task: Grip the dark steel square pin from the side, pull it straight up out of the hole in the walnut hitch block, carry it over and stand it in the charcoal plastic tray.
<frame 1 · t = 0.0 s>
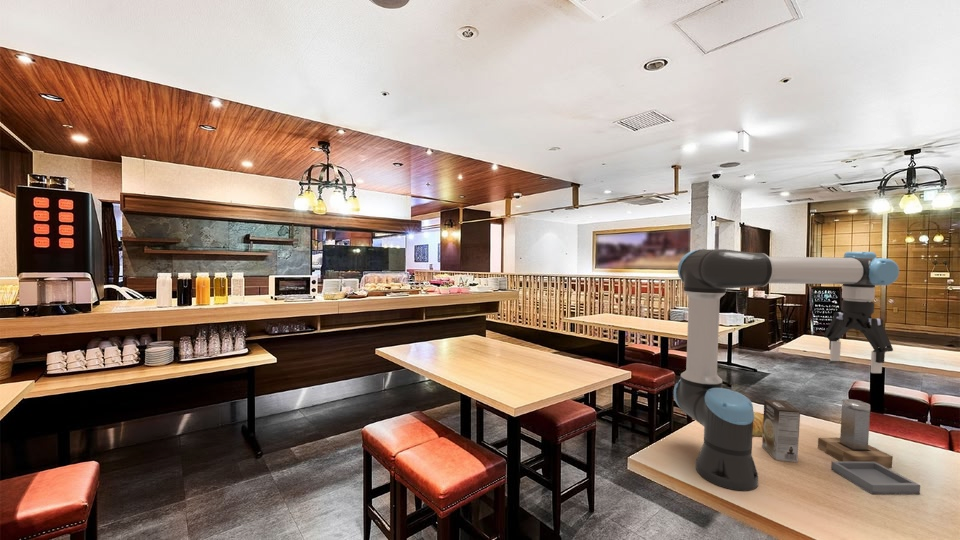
hand: (854, 366, 127), 28 cm above the table, tool pointing down, fingers open, 13 cm apart
croissant: (753, 431, 143), on the table
tray: (873, 481, 111), on the table
hitch block: (853, 457, 125), on the table
pin: (854, 430, 124), in the hitch block
coffee box: (779, 454, 126), on the table
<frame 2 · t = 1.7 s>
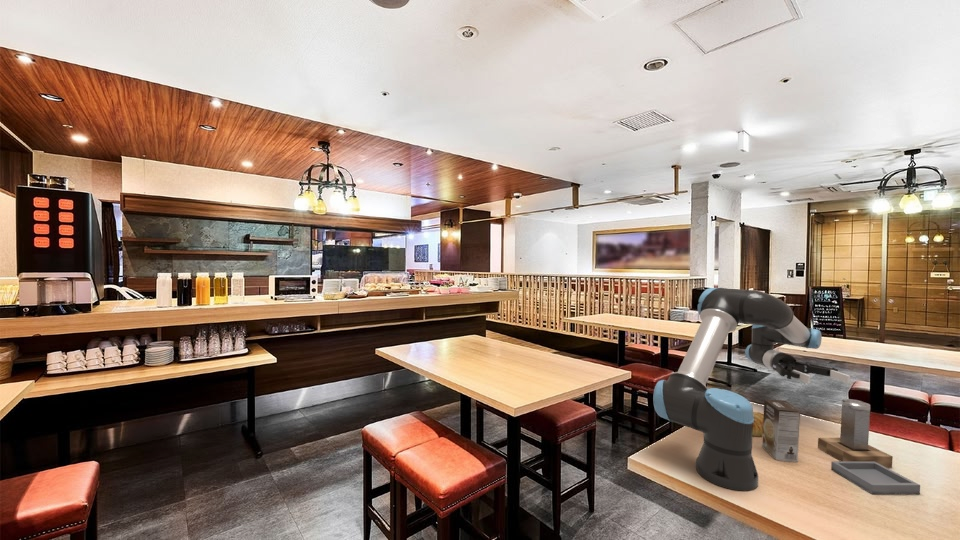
hand: (829, 379, 133), 22 cm above the table, tool horizontal, fingers open, 13 cm apart
nothing on the table moved.
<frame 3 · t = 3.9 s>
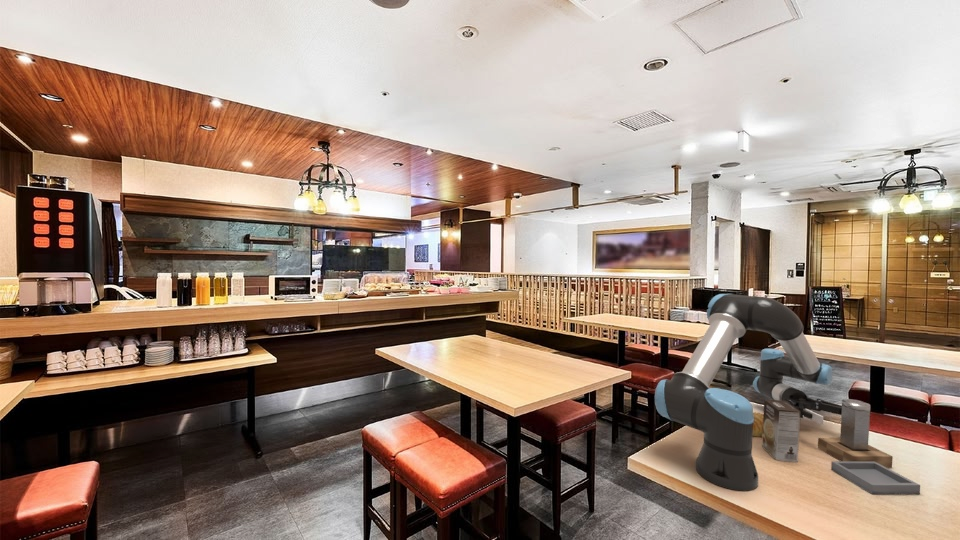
hand: (842, 420, 129), 10 cm above the table, tool horizontal, fingers open, 13 cm apart
nothing on the table moved.
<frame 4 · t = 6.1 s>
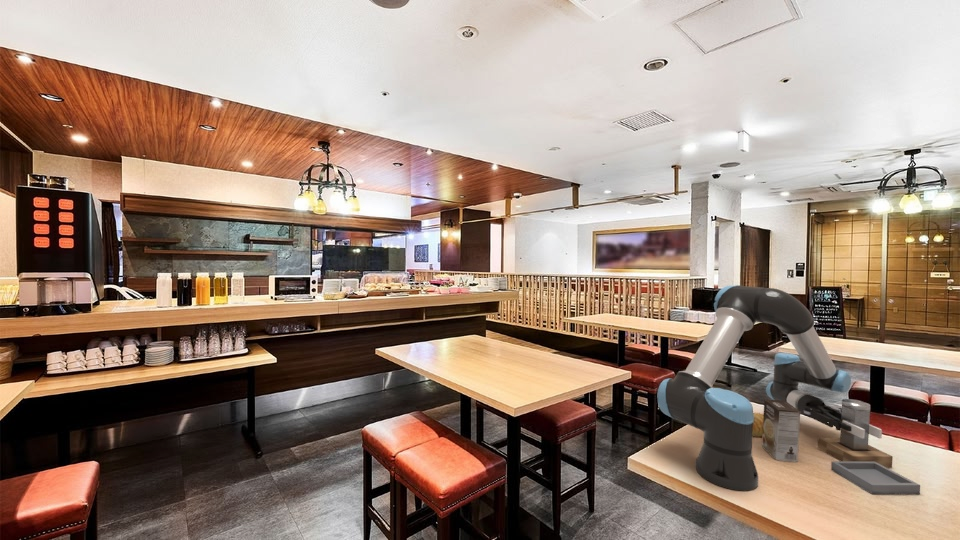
hand: (871, 433, 119), 10 cm above the table, tool horizontal, fingers closed on pin, 4 cm apart
pin: (854, 430, 124), in the hitch block, touching gripper
everything else where it was.
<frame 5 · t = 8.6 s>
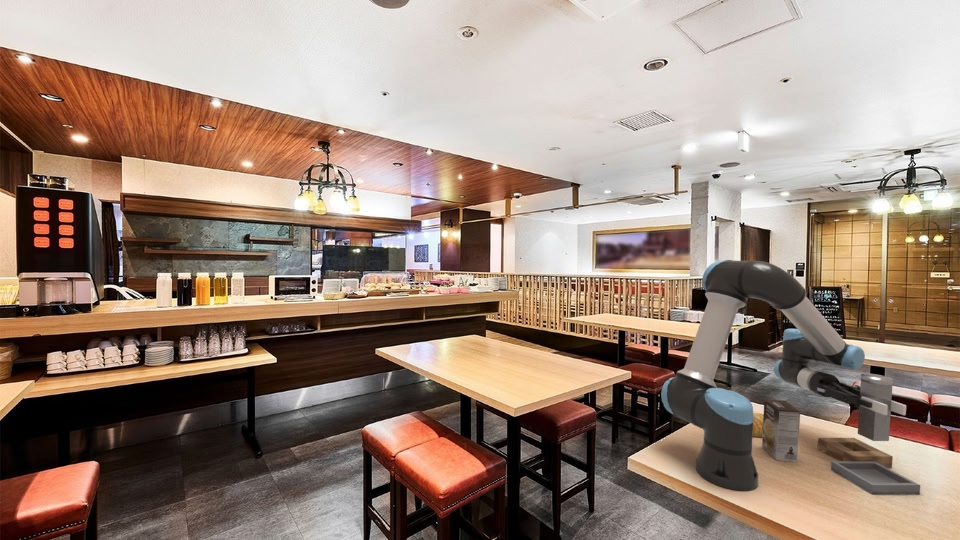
hand: (895, 410, 108), 22 cm above the table, tool horizontal, fingers closed on pin, 4 cm apart
pin: (874, 407, 113), point 20 cm above the table, touching gripper
everything else where it was.
when the fingers open (12 cm above the table, at t = 11.0 s): pin stays where it is, resting on tray.
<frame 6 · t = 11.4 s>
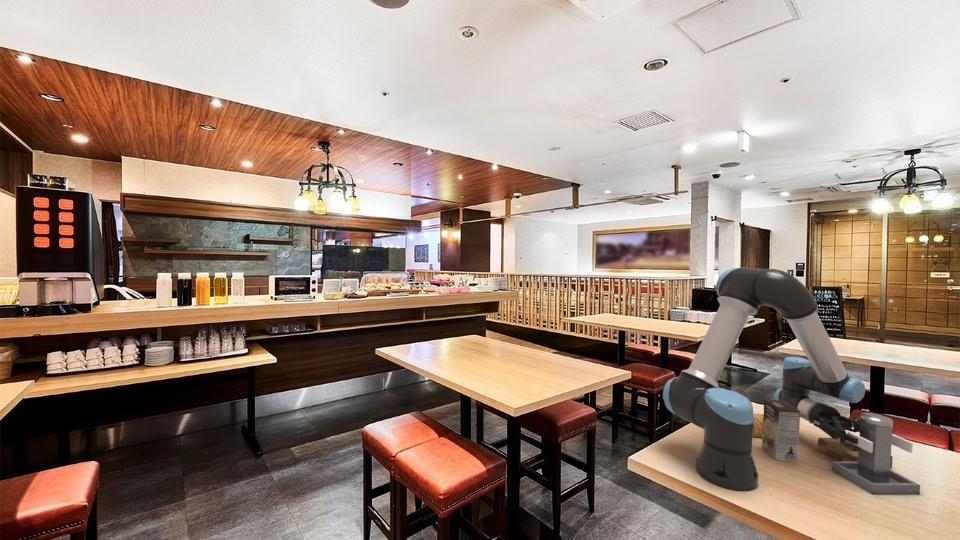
hand: (891, 447, 107), 12 cm above the table, tool horizontal, fingers open, 10 cm apart
pin: (874, 448, 111), in the tray, point 10 cm above the table
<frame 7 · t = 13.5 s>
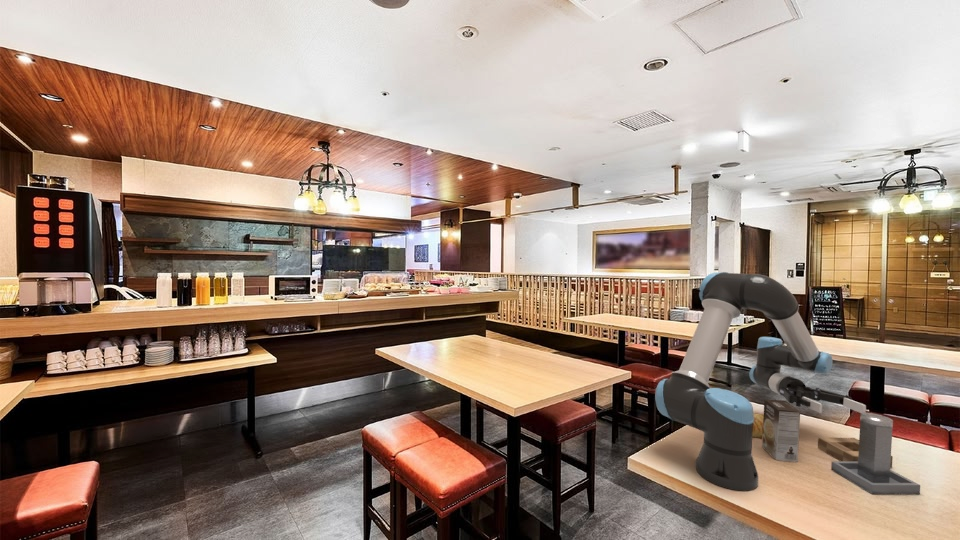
hand: (842, 409, 121), 16 cm above the table, tool horizontal, fingers open, 13 cm apart
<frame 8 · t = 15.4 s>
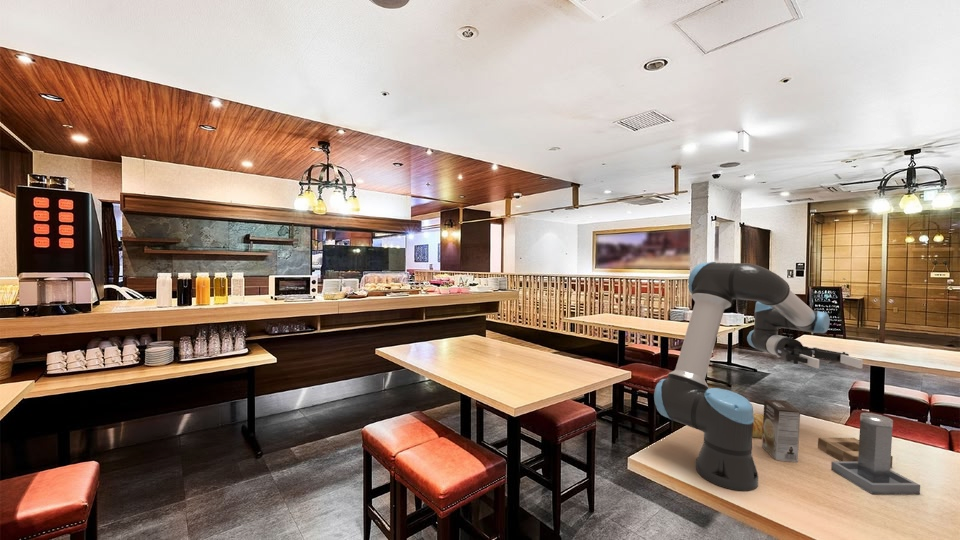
hand: (839, 364, 122), 30 cm above the table, tool horizontal, fingers open, 13 cm apart
at the end: pin inside the target area on the tray (0.0 cm from its centre), point 9.5 cm above the tray's base; pin tilted 0°; the gripper is holding nothing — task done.
